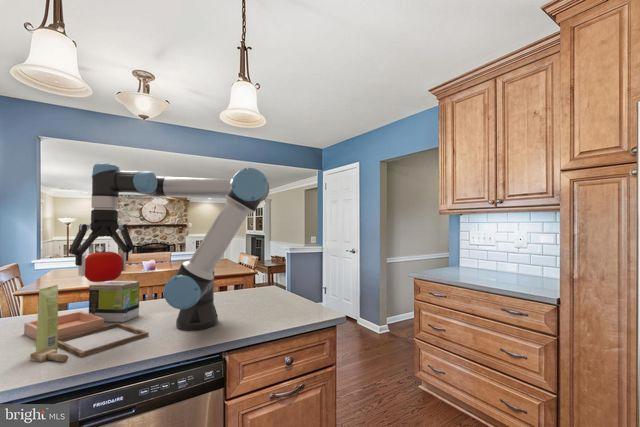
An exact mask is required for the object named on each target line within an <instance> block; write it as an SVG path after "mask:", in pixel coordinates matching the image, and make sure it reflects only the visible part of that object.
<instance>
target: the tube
mask: <svg viewBox="0 0 640 427" xmlns="http://www.w3.org/2000/svg"><path fill="white" fill-rule="evenodd" d="M58 316H59V285H58V284H55V285H51V286H47V287H44V288H39V292H38V306H37V320H36V321H37V340H35V341H36V343H35V344H36V345H35V352H37V351H40V350H43V349H46V348H48V349H54V350H57V349H58Z"/></svg>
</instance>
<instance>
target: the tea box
mask: <svg viewBox="0 0 640 427" xmlns="http://www.w3.org/2000/svg"><path fill="white" fill-rule="evenodd" d="M88 286H89V290H88V291H89V292H88V314H92V315H95V316H98V317H101V318H104V323H105V322H112V323H125V322H126V321H129V320H131V319H134V318H136V317H138V316H139V314H140V280H112V281H105V282H95V283H93V284H89V285H88Z"/></svg>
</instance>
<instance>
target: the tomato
mask: <svg viewBox="0 0 640 427" xmlns="http://www.w3.org/2000/svg"><path fill="white" fill-rule="evenodd" d="M122 269H123V262H122V259H121V257H120V253H119V254H118V252H115V251H106V250H102V251H97V252H93V253H90V254H88V255H87V256H86V259H85V276H84V278H86V279H87V280H88V281H89V282H92V283H101V282H105V281H116V279H118V278H119V277H120V276H121V274H122V272H123V271H122Z"/></svg>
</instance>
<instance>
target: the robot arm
mask: <svg viewBox="0 0 640 427" xmlns="http://www.w3.org/2000/svg"><path fill="white" fill-rule="evenodd" d="M91 180H92V181H91V183H92V184H91V185H92V186H91V188H92V189H91V190H92V191H91V205H90V206H91V208H92V209H91V211H90V224H86V223H80V224H79V226H78V232H77V234H76V236H75V238H74V240H73V241H72V243H71V245H70V247H69V249H68V252H67V253H68V254H69V255H74V256H75V258H74V259H75V263H74V264H75V266H76V267H77V266H78V270H77V272H78V273H77V275H78V276H80V277H85V259H86V257H87V256H86V255H84V254H85V252H87V250H88V249H89V247H90V246H92V244H93V243H94V242H95V241H96V239H98V238H99V237H103V238H104V237H110V238H111V239H112V240H113V241H114V243H116V245H117V246H118V248H119V249H120V250H121V252H119V255H120V257H121V259H122V262H123V269H122V272H126V270H127V262H128V261H129V253H131V251H135V245H134V243H133V240H132V238H131V236H130V233H129V231H128V224H125V223H122V224H119V223H118V221H119V211H118V209H119V195H120V194H119V193H134V194H135V193H137V194H140V195H146V196H150V197H153V198H154V197H155V198H157V197H158V198H159V197H182V198H183V197H184V198H215V199H218V198H219V199H225V200H226V202H225V204H224V205H223V207H222V209H221V210H220V212H219V214H217V217H216V218H215V219H214V221H213V223H212V224H211V226H210V228H209V230H207V232H206V234H205V235H204V237H203V238H202V240H201V242H200V244H199V245H198V247H197V248H196V250H195V251H194V253H193V255H192V256H191V258H190V259H189V260H185V261H183V262H182V263H181V265H180V266H179V268H178V269H177V272H176V273H175V275H174V276H172V277H170V278H169V280H167V282H166V283H165V285H164V287H163V296H164V299H165V301H166V302H167V304H168V305H169V306H171V307H172V308H174V309H175V310H179V312H178V315H177V318H176V321H175V322H176V323H175V328H177V329H179V330H183V331H199V330H200V331H201V330H205V329H208V328H212V327H213V326H216V325H217V324H218V322H219V316H218V313H217V309H216V306H215V303H214V299H215V298H214V296H215V268H216V266H217V265H218V263H219V262H220V260H221V258H222V257H223V255H224V254H225V252H226V250H227V249H228V247H229V246H230V244H231V243H232V241H233V239H234V237H235V235H236V234H237V233H238V231H239V229H240V228H241V226H242V225H243V223H244V221H245V220H246V219H247V217H248V215H249V214H252V213H255V212H256V210H257V209H258V208H259V205H260V203H261V202H263V201H265V200H266V199H267V197H268V195H269V193H270V185H269V182H268V178H267V176H266V175H265V174H264V172H262V171H261V170H259V169H257V168H255V167H244V168H242V169H239V170H238V171H237V172H236V173H235V174H234V175H233V177H232V178H205V177H203V178H202V177H182V176H181V177H178V176H175V177H174V176H156V174H155V173H154V172H153V171H150V170H149V171H148V170H147V171H145V170H120V167H119V166H118V165H117V164H112V163H102V162H98V163H95V164H93V167H92V174H91ZM89 230H90V231H91V232H90V234H89V235H88V237H87V238H86V239H85V240H84V238H85V236H86V234H87V232H88V231H89ZM117 230H119V231H120V234H121V236H122V238H121V237H120V235H119V233H118V232H117ZM83 240H84V242H83ZM82 242H83V243H82ZM81 243H82V244H81Z"/></svg>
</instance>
